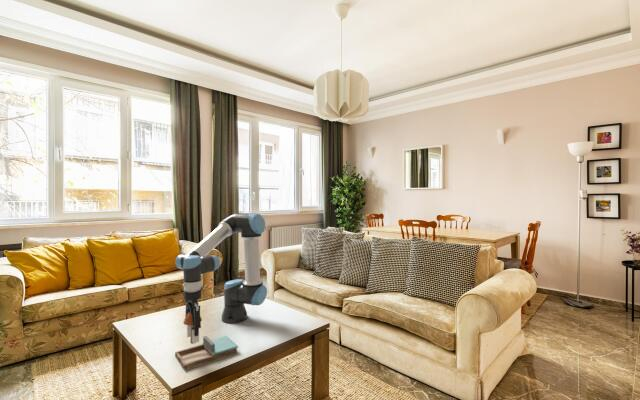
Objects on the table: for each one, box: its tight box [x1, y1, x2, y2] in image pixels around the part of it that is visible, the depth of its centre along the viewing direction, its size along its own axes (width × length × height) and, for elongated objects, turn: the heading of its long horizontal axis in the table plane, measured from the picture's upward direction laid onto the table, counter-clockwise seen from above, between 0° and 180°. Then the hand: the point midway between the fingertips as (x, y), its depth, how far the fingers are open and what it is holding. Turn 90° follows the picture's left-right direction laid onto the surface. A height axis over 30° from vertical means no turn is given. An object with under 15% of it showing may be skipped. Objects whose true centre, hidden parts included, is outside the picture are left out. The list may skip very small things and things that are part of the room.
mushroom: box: [183, 311, 203, 345], centre depth 150 cm, size 8×8×15 cm
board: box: [174, 343, 238, 371], centre depth 154 cm, size 15×24×2 cm, turn 128°
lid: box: [202, 335, 239, 355], centre depth 158 cm, size 14×12×4 cm
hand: (193, 339), depth 150 cm, fingers closed on mushroom, 7 cm apart
